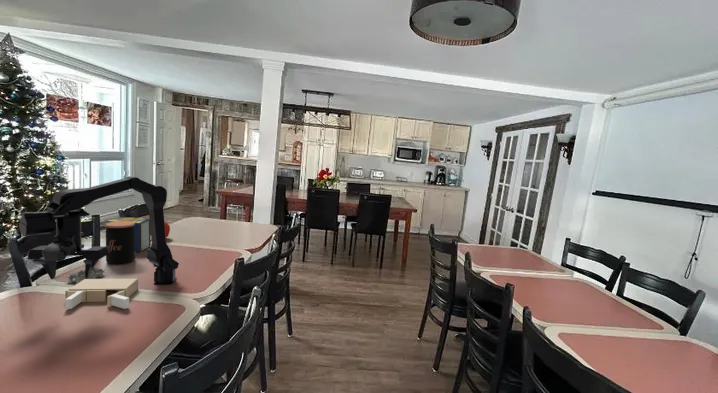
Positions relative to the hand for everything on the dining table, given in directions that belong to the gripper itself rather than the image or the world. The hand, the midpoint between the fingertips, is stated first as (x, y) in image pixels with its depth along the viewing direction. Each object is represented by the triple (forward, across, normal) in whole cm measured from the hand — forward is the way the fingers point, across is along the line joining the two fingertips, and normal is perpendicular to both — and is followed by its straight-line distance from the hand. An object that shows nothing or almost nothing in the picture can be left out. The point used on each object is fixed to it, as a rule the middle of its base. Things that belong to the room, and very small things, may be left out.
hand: (70, 278), depth 100 cm
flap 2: (+10, +14, +1) cm, 17 cm away
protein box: (+11, -12, +67) cm, 69 cm away
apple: (+11, -5, +87) cm, 88 cm away
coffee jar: (+11, -7, +47) cm, 49 cm away
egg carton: (+11, -9, +26) cm, 29 cm away
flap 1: (+10, -2, +2) cm, 10 cm away
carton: (+10, +4, +10) cm, 15 cm away
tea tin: (+10, +9, +10) cm, 17 cm away
